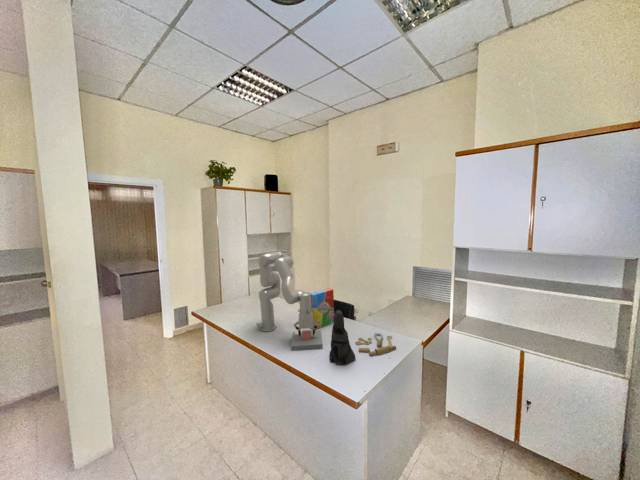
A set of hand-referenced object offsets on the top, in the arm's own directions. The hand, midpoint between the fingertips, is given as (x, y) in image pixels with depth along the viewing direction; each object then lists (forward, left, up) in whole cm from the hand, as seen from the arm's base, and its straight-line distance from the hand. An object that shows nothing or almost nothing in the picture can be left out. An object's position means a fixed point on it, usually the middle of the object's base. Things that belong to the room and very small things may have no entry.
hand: (306, 335), depth 172 cm
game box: (+12, +25, -5) cm, 28 cm away
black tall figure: (+20, -23, -5) cm, 31 cm away
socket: (0, 0, -5) cm, 5 cm away
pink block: (0, 0, -5) cm, 5 cm away
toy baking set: (+46, -8, -5) cm, 47 cm away
